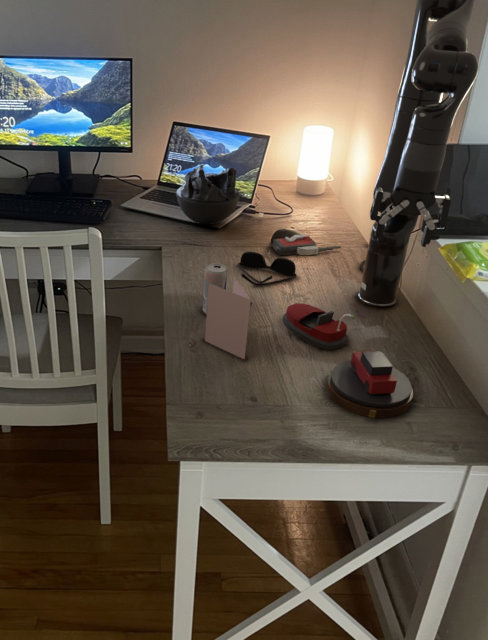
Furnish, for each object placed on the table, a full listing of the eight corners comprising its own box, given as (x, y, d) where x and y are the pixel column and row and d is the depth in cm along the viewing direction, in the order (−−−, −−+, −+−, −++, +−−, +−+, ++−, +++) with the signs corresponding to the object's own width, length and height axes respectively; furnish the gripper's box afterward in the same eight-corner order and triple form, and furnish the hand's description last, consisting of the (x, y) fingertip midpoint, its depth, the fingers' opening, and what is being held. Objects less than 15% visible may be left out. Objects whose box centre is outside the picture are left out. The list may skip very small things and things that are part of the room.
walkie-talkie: (279, 259, 198) (341, 253, 202) (281, 245, 196) (344, 239, 200) (267, 247, 205) (327, 241, 210) (269, 234, 203) (329, 228, 207)
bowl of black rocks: (163, 223, 220) (165, 166, 211) (197, 207, 234) (200, 152, 224) (215, 239, 210) (219, 179, 200) (248, 220, 224) (253, 164, 214)
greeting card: (248, 359, 152) (254, 299, 144) (216, 362, 150) (221, 302, 143) (232, 333, 161) (238, 276, 153) (202, 336, 160) (206, 278, 152)
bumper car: (303, 312, 171) (308, 276, 165) (363, 348, 156) (371, 310, 151) (273, 322, 166) (278, 285, 161) (332, 360, 152) (340, 321, 147)
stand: (325, 365, 150) (326, 358, 149) (405, 375, 147) (407, 367, 146) (327, 412, 135) (329, 404, 134) (416, 424, 132) (419, 416, 131)
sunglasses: (222, 284, 183) (224, 267, 181) (239, 264, 195) (241, 248, 192) (283, 297, 177) (286, 280, 175) (297, 275, 189) (299, 259, 186)
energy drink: (225, 307, 172) (229, 264, 166) (221, 317, 168) (225, 273, 161) (204, 305, 173) (207, 261, 167) (200, 314, 169) (203, 270, 163)
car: (424, 404, 134) (432, 378, 131) (346, 409, 133) (352, 382, 129) (391, 360, 148) (397, 335, 144) (320, 364, 146) (324, 338, 143)
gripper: (383, 165, 126) (365, 245, 135) (464, 173, 124) (440, 254, 133) (380, 154, 133) (363, 231, 141) (457, 161, 130) (435, 239, 139)
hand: (401, 242), depth 137 cm, fingers open, 8 cm apart
